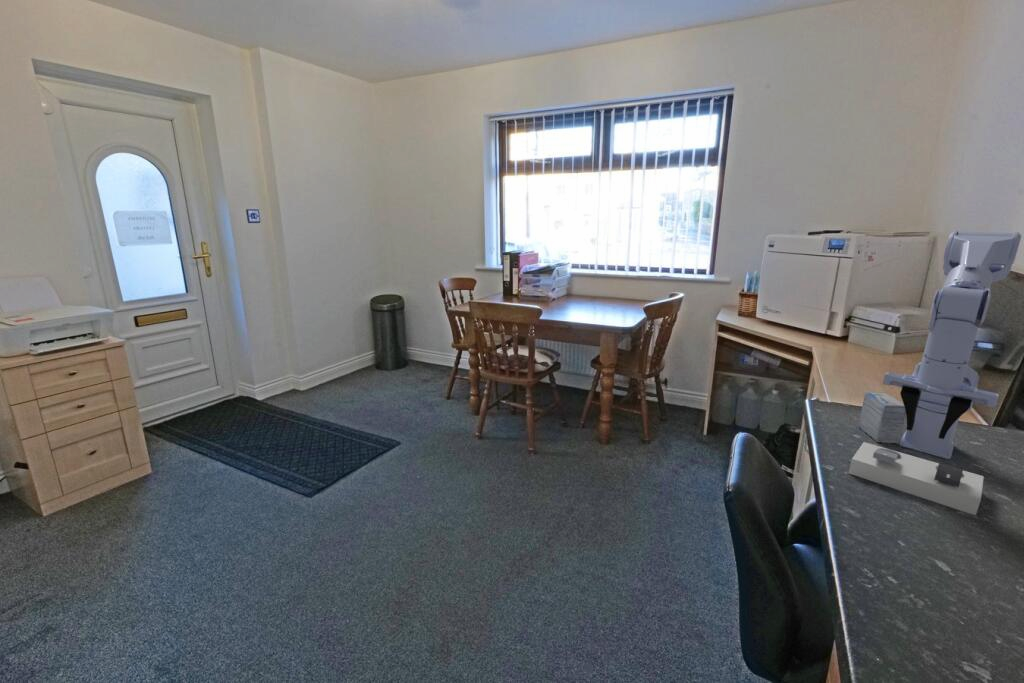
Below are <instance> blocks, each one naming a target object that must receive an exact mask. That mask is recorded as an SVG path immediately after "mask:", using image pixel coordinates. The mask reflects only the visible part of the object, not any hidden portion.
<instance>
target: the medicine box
mask: <svg viewBox="0 0 1024 683" xmlns="http://www.w3.org/2000/svg"><path fill="white" fill-rule="evenodd" d="M906 418H907V417H906V411H905V407H904V403H903V402H901V401H899V400H898V399H896V398H895V397H893V396H892V395H890V394H888V393H885V392H884V393H883V392H882V393H881V392H865V393H864V396H863V402H862V407H861V411H860V415H859V419H858V423H857V424H858V425H857V427H858V426H859V427H860V428H861V429H860V428H859V427H858V428H859V429H860V430H861V431H863V432H864V433H865V434H866V433H867V434H866V435H868V436H869V437H870V436H871V437H872V438H871V437H870V438H871V439H872V440H874V441H875V442H876V443H880V442H882V444H891V443H897V444H896V445H899V443H900V441H901V439H902V435H903V434H902V433H903V429H904V425H905V420H906Z"/></svg>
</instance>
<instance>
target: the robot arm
mask: <svg viewBox="0 0 1024 683" xmlns="http://www.w3.org/2000/svg"><path fill="white" fill-rule="evenodd" d="M1021 240H1022V234H1020V233H1019V232H1017V231H1015V232H994V231H993V232H989V231H987V232H984V231H981V232H980V231H958V230H954V231H953V232H950V234H949V235H948V239H947V241H946V247H945V249H944V255H943V264H942V270H943V275H944V276H946V279H945V281H944V283H943V285H942V288H941V289H939V288H938V289H936V292H935V293H934V296H933V298H932V304H931V306H930V307H931V308H930V311H929V312H930V319H929V325H928V329H927V330H929V333H928V334H927V338H926V343H925V346H924V349H923V350H924V351H923V354H922V359H921V362H919V363H917V365H915V367H914V371H913V373H912V374H911V375H908V374H901V373H893V372H888V371H886V372H885V373H884V376H883V379H882V380H883V381H882V385H884V386H895V387H899V388H901V389H900V390H901V391H900V392H899V393H900V398H901V400H902V404H904V407H905V411H906V417H905V418H906V430H905V432H904V433H903V434H902V436H901V438H900V443H899V444H898V445H899V446H900V447H904V448H907V449H910V450H915V451H918V452H920V453H921V452H922V453H925V454H929V455H932V456H936V457H939V458H943V459H947V460H950V459H951V458H952V455H953V450H954V447H955V442H953V441H954V437H955V435H956V434H955V433H956V431H957V426H958V424H959V420H960V417H961V416H962V415H964V414H965V413H967V412H969V411H972V407H973V404H974V403H976V404H981V405H985V406H987V407H989V408H990V407H991V408H994V409H995V408H996V407H997V404H998V400H999V397H1000V393H996V392H992V391H987V390H983V389H980V388H978V387H979V384H978V383H979V380H980V376H979V373H978V372H977V371H976V370H975V369H973V368H972V367H971V366H969V361H970V360H971V355H972V351H973V347H974V344H975V341H976V338H977V334H978V331H979V329H980V328H979V326H981V325H982V324H983V323H984V321H985V319H986V317H987V312H988V309H989V305H990V303H991V299H992V292H991V286H992V283H995V282H999V281H1002V280H1006V278H1007V276H1008V275H1009V274H1010V272H1011V269H1012V267H1013V264H1014V262H1015V260H1016V258H1017V257H1016V256H1017V253H1018V250H1019V246H1020V243H1021ZM977 321H978V322H979V324H978V323H977Z"/></svg>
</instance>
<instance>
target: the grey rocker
mask: <svg viewBox="0 0 1024 683" xmlns="http://www.w3.org/2000/svg"><path fill="white" fill-rule="evenodd" d="M897 456H898V455H897V454H894V453H890V452H887V451H884V450H880V449H877V450H876V451H875V452H874V454H873V458H876V459H879V460H883V461H886V462H889V463H892V464H894V463H895V461H896V460H897Z"/></svg>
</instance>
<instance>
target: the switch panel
mask: <svg viewBox="0 0 1024 683" xmlns="http://www.w3.org/2000/svg"><path fill="white" fill-rule="evenodd" d="M877 449H880V450H884V451H887V452H890V453H894V454H897V455H898V456H897V460H896V461H895V463H894V464H892V463H889V462H886V461H883V460H879V459H876V458H873V454H874V452H875V451H876V450H877ZM939 463H940V462H935V461H931V460H928V459H925V458H921V457H919V456H918V457H917V456H914V455H910V454H908V453H903V452H899V451H897V450H893V449H890V448H886V447H884V446H883V447H882V446H879V445H875V444H873V443H869V442H865V441H863V443H862V444H861V446H860V447H859V448H858V449H857V451H856V452H855V454H854V455H853V457H852V458H851V462H850V464H849V465H850V466H849V470H848V474H849V475H852V476H855V477H858V478H861V479H865V480H867V481H871V482H872V483H873V482H874V483H877V484H879V485H883V486H884V487H885V486H886V487H889V488H891V489H895V490H898V491H900V492H903V493H906V494H910V495H912V496H915V497H919V498H922V499H924V500H927V501H931V502H934V503H937V504H939V505H943V506H946V507H949V508H951V509H955V510H957V511H961V512H963V513H967V514H971V515H973V516H976V515H977V513H978V510H979V508H980V507H979V506H980V504H981V500H982V494H983V487H984V476H983V475H980V474H977V473H973V472H969V471H966V470H963V472H962V476H961V480H960V484H959V487H956V486H953V485H950V484H947V483H943V482H940V481H937V480H934V479H935V475H936V472H937V469H938V465H939Z"/></svg>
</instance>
